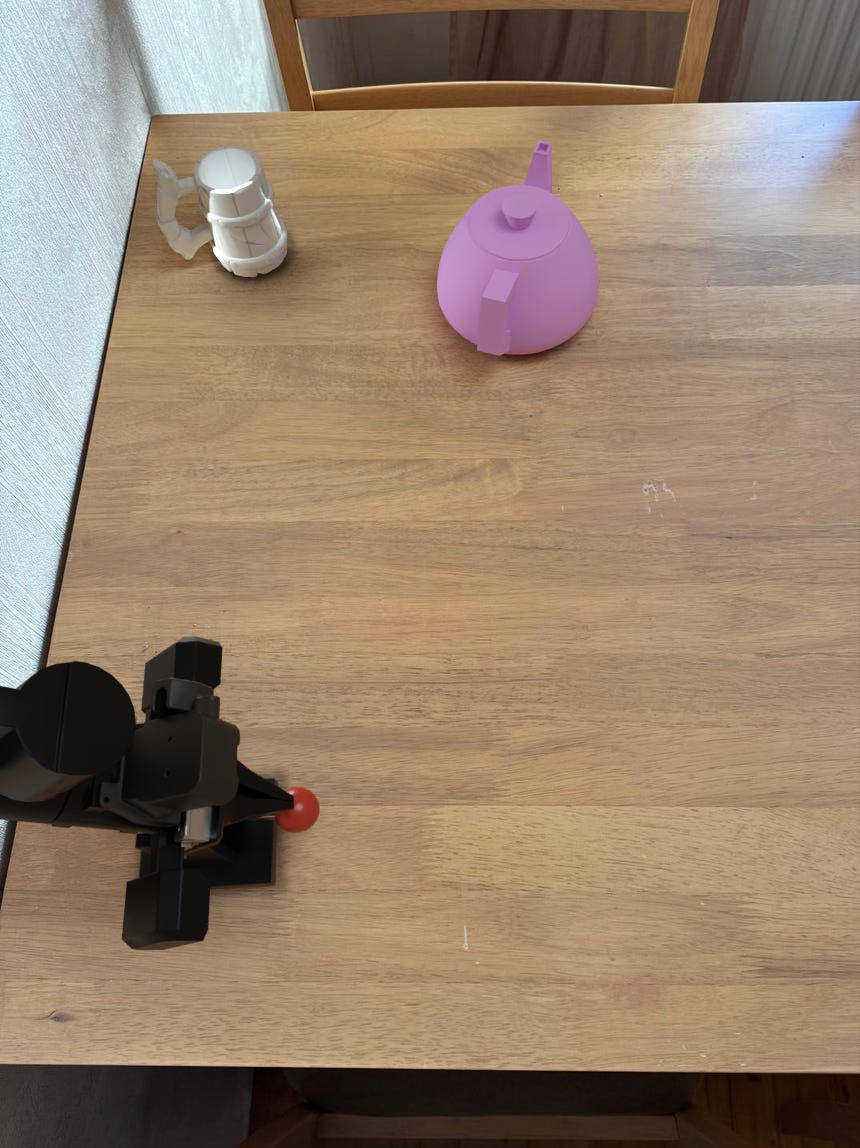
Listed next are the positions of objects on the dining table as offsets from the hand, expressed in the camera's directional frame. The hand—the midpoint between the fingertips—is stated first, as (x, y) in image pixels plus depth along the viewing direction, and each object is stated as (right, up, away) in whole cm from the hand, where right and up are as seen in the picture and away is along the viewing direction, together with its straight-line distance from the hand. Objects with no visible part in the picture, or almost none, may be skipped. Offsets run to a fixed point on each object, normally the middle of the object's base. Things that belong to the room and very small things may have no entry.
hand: (290, 803), depth 63 cm
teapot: (+17, +45, +28) cm, 55 cm away
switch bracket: (-8, -4, +8) cm, 12 cm away
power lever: (-4, -1, +3) cm, 5 cm away
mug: (-12, +51, +31) cm, 61 cm away
